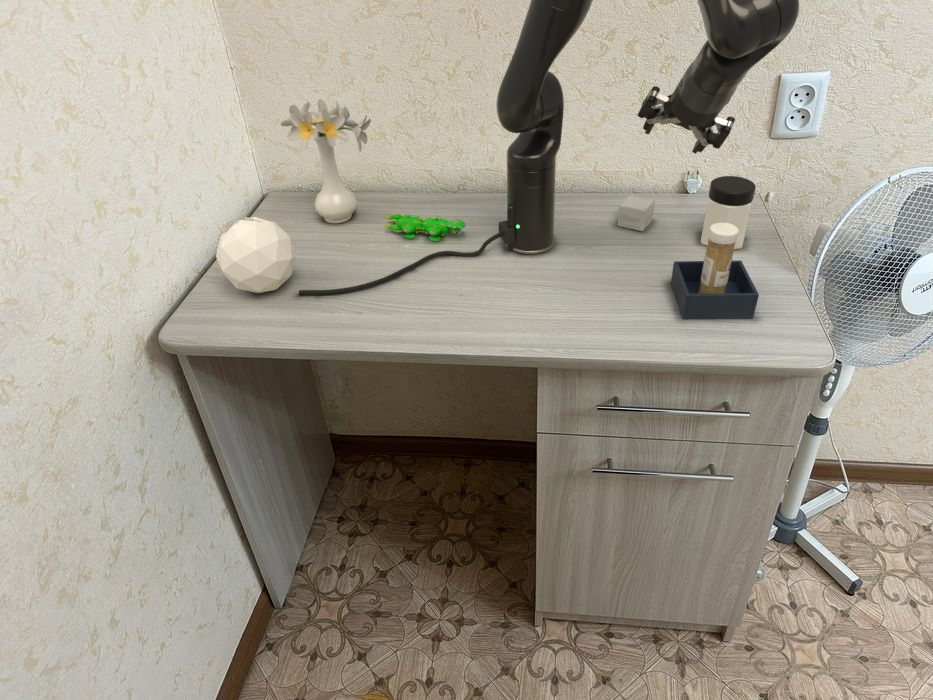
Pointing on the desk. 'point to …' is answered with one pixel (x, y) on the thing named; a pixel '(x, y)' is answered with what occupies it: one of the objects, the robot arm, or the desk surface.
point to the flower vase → (328, 153)
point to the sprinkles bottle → (718, 258)
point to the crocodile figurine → (424, 226)
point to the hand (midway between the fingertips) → (671, 138)
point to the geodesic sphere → (255, 255)
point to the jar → (729, 205)
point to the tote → (726, 305)
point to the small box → (636, 213)
